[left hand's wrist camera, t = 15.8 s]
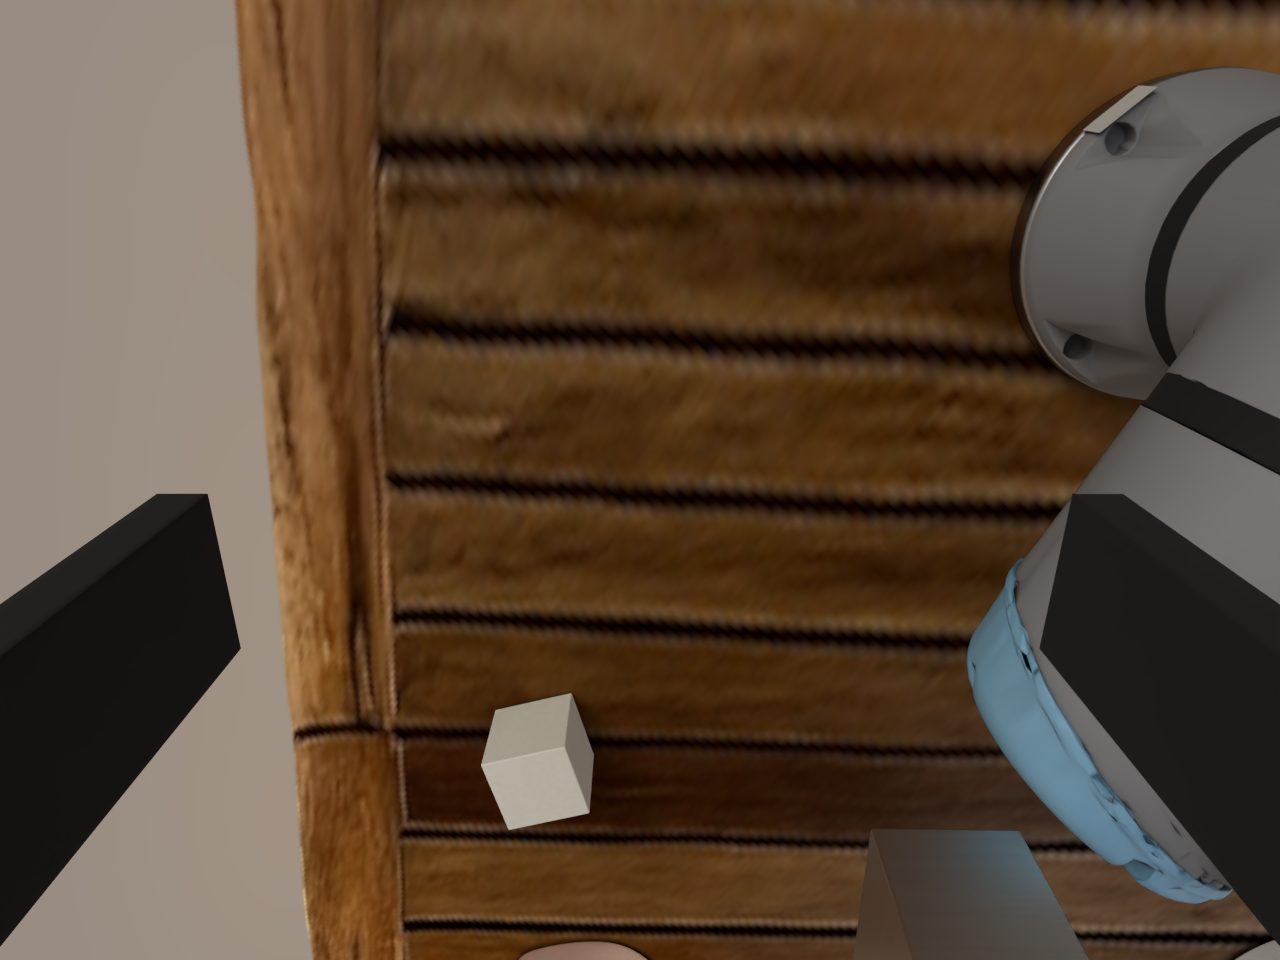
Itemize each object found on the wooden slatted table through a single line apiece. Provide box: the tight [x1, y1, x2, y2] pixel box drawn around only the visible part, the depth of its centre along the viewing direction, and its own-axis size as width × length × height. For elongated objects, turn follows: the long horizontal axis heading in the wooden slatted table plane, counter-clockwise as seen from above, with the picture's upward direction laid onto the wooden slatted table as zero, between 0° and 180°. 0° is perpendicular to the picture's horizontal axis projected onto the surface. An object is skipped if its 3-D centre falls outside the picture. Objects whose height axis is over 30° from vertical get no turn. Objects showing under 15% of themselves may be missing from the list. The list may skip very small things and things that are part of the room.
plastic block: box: [481, 693, 594, 830], centre depth 49 cm, size 5×5×5 cm
